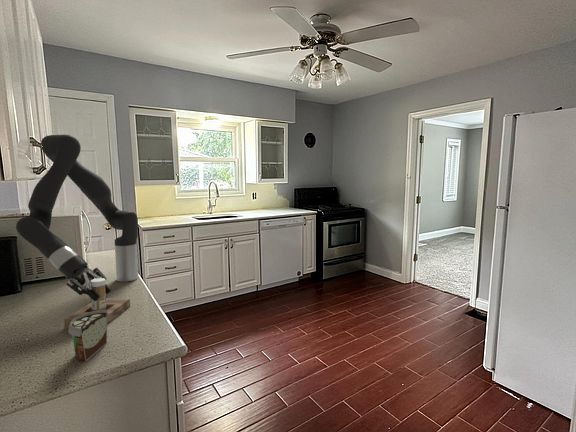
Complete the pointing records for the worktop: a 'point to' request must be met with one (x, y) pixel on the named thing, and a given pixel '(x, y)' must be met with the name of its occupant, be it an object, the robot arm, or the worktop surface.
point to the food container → (89, 333)
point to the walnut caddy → (112, 307)
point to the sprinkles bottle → (99, 288)
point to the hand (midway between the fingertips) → (103, 295)
